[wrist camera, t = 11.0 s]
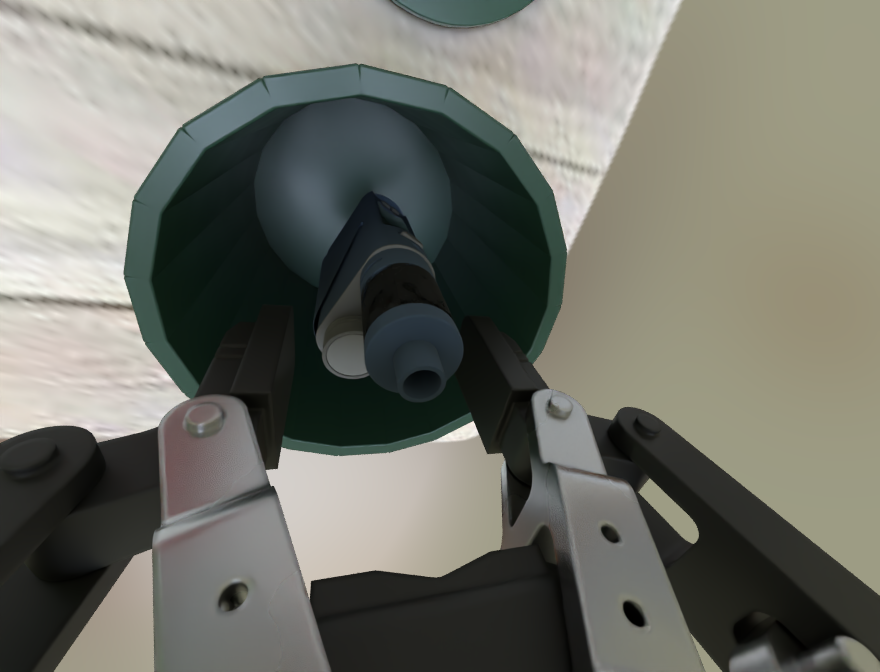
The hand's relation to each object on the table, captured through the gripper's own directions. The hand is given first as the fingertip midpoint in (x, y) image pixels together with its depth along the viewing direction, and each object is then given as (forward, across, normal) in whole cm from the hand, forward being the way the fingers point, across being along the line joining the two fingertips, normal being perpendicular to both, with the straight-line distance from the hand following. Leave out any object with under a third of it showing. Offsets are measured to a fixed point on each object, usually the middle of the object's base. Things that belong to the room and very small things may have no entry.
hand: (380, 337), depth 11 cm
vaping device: (+9, 0, 0) cm, 9 cm away
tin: (+15, 0, 0) cm, 15 cm away
